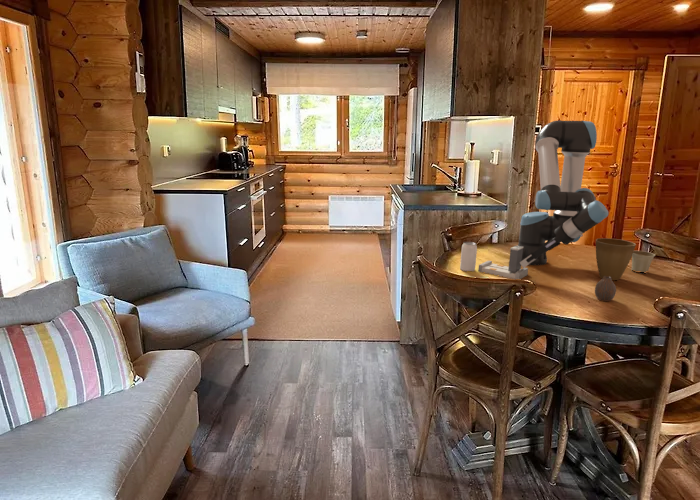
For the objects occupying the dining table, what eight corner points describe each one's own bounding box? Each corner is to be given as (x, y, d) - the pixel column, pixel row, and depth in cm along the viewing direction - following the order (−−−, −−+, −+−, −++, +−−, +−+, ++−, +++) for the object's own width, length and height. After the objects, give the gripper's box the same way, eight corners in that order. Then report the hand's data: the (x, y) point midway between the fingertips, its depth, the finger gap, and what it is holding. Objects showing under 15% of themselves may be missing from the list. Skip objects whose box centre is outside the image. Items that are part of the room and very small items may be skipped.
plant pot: (632, 285, 200) (639, 247, 196) (592, 280, 205) (597, 243, 201) (626, 275, 213) (632, 239, 209) (588, 271, 218) (594, 236, 214)
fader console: (527, 274, 211) (528, 268, 210) (518, 280, 203) (519, 273, 202) (487, 266, 222) (488, 260, 221) (478, 271, 214) (478, 264, 213)
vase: (589, 296, 185) (593, 274, 183) (607, 296, 186) (610, 274, 184) (600, 302, 178) (604, 279, 176) (618, 302, 179) (622, 279, 177)
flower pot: (650, 270, 222) (653, 252, 220) (653, 276, 214) (656, 256, 212) (626, 267, 226) (630, 249, 224) (628, 273, 217) (631, 254, 215)
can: (475, 272, 213) (477, 245, 210) (460, 271, 214) (462, 244, 211) (474, 268, 219) (477, 242, 216) (459, 267, 220) (462, 241, 217)
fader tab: (520, 272, 211) (523, 246, 208) (515, 275, 206) (517, 249, 203) (513, 271, 212) (516, 245, 210) (507, 274, 208) (510, 247, 205)
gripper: (570, 242, 186) (522, 275, 200) (579, 236, 196) (533, 269, 210) (557, 226, 188) (510, 260, 202) (567, 221, 198) (522, 254, 212)
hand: (522, 264), depth 206 cm, fingers closed
